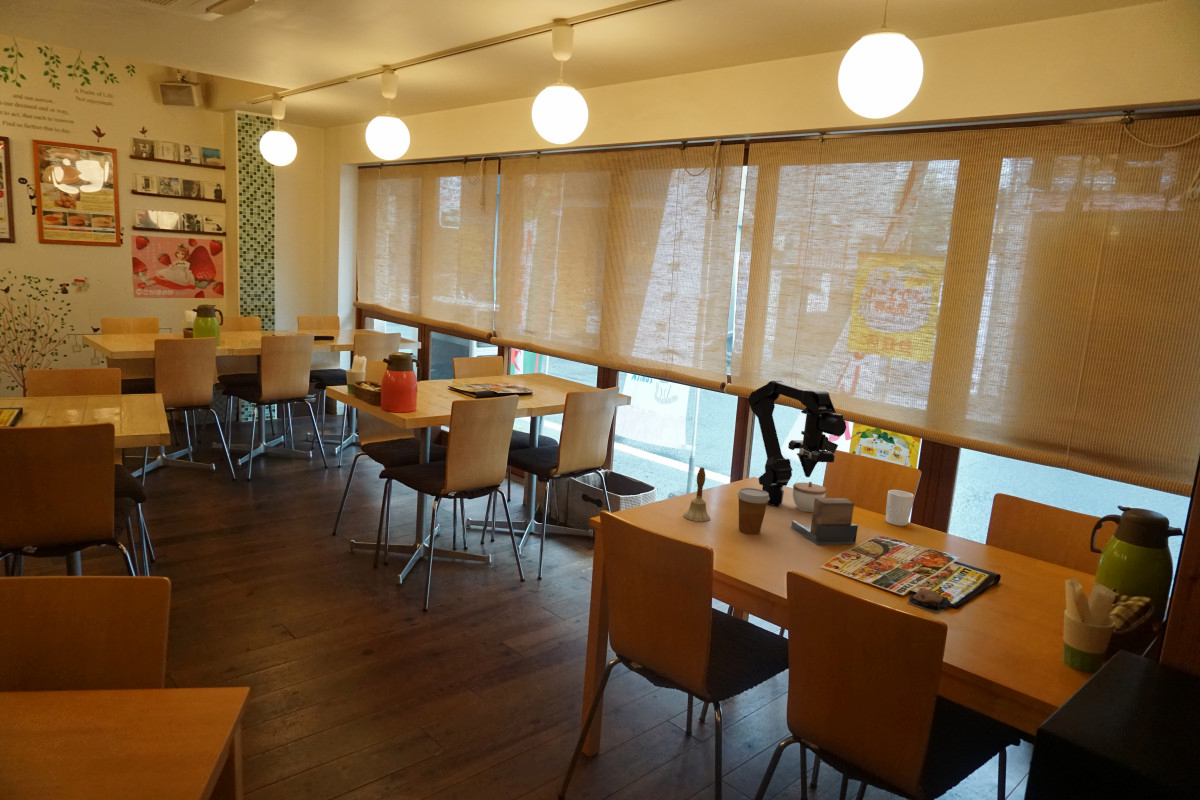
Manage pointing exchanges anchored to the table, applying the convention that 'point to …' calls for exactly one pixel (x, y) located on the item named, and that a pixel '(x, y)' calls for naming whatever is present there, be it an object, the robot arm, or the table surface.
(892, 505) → the white cup
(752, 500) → the disposable coffee cup
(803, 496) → the lidded jar
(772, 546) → the table surface
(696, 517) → the hand bell
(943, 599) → the bread roll
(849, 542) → the grey open tray
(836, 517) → the walnut slider
